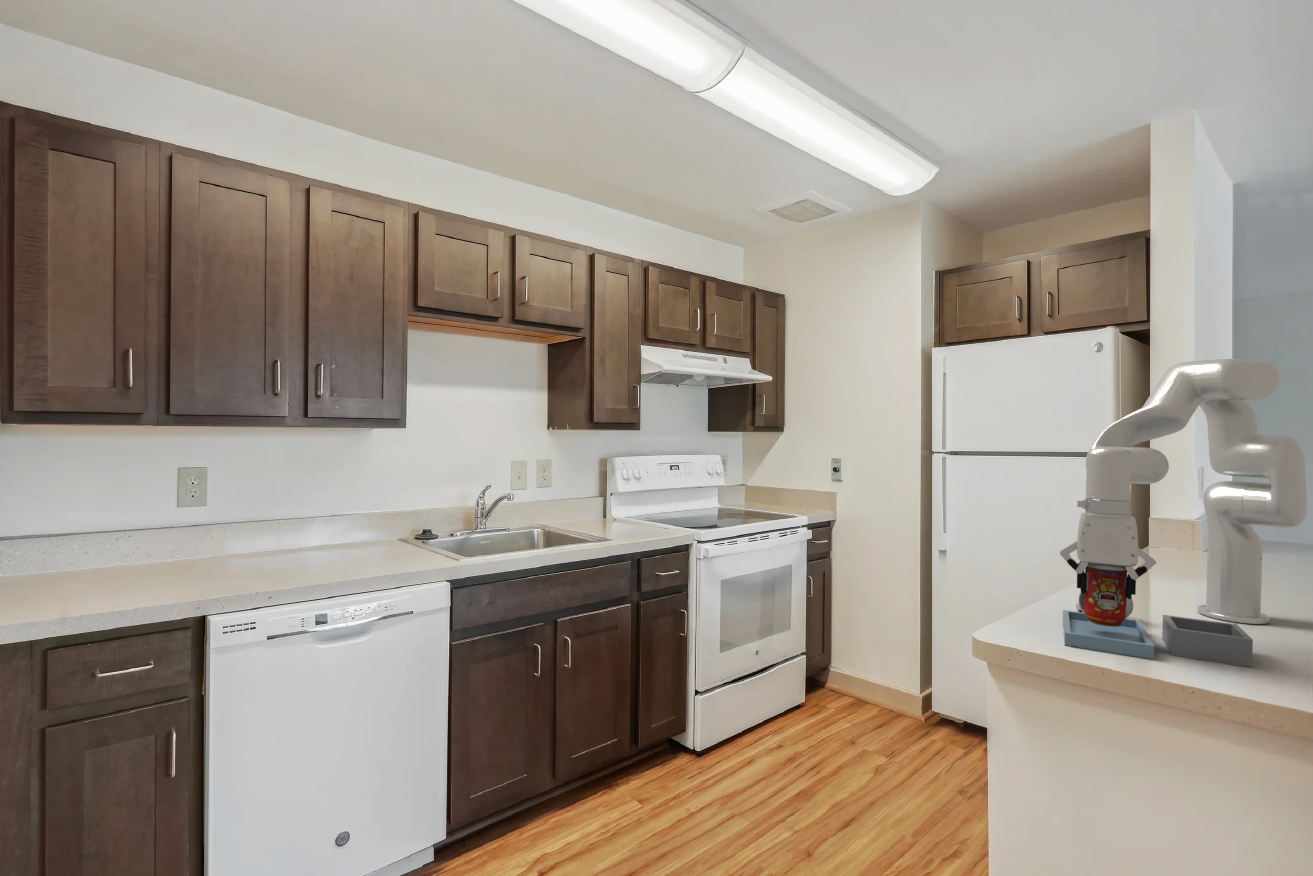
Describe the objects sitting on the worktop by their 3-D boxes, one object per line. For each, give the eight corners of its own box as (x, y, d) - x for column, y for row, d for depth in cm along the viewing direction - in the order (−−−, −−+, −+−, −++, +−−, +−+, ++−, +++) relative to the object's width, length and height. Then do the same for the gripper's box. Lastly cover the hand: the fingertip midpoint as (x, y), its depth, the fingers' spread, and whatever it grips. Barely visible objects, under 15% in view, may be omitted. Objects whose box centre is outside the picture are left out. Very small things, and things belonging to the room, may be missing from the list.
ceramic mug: (1136, 622, 144) (1136, 588, 144) (1107, 624, 142) (1107, 589, 142) (1093, 610, 154) (1093, 578, 154) (1065, 612, 152) (1066, 579, 152)
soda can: (1090, 625, 130) (1091, 564, 130) (1079, 616, 136) (1080, 558, 136) (1131, 629, 128) (1133, 567, 127) (1118, 620, 134) (1120, 561, 134)
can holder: (1162, 639, 133) (1162, 614, 132) (1236, 649, 127) (1236, 624, 127) (1171, 654, 123) (1172, 628, 123) (1252, 667, 117) (1252, 639, 117)
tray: (1062, 621, 144) (1063, 610, 144) (1140, 632, 137) (1140, 620, 137) (1064, 645, 127) (1064, 632, 127) (1153, 659, 120) (1154, 646, 120)
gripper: (1057, 506, 133) (1055, 592, 133) (1164, 513, 124) (1161, 605, 124) (1057, 503, 140) (1055, 585, 140) (1158, 509, 131) (1156, 597, 131)
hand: (1105, 594), depth 132 cm, fingers closed on soda can, 7 cm apart
